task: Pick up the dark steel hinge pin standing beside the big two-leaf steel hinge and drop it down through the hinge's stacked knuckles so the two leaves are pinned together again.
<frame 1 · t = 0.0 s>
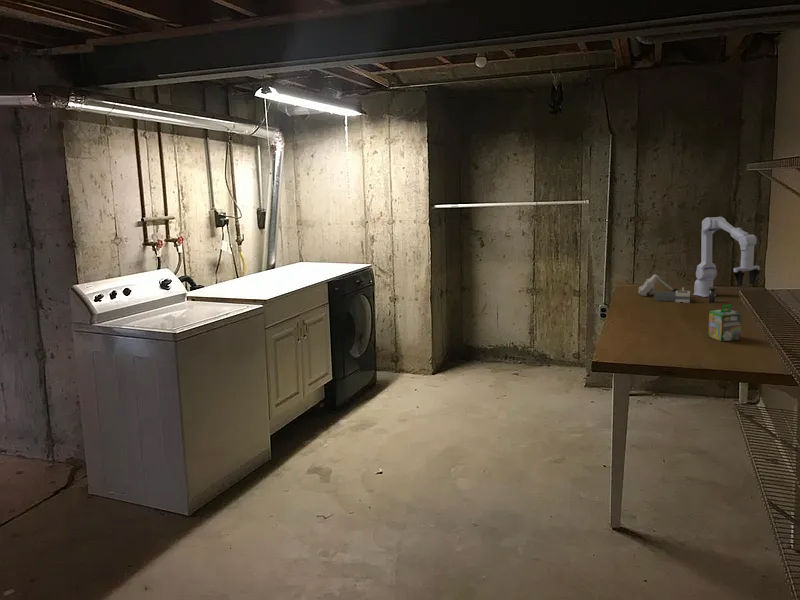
hand: (745, 284, 329), 10 cm above the table, fingers open, 7 cm apart
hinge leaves: (682, 301, 345), on the table
hinge pin: (711, 302, 340), on the table
chalk box: (724, 338, 268), on the table
mechanical valve: (658, 296, 364), on the table
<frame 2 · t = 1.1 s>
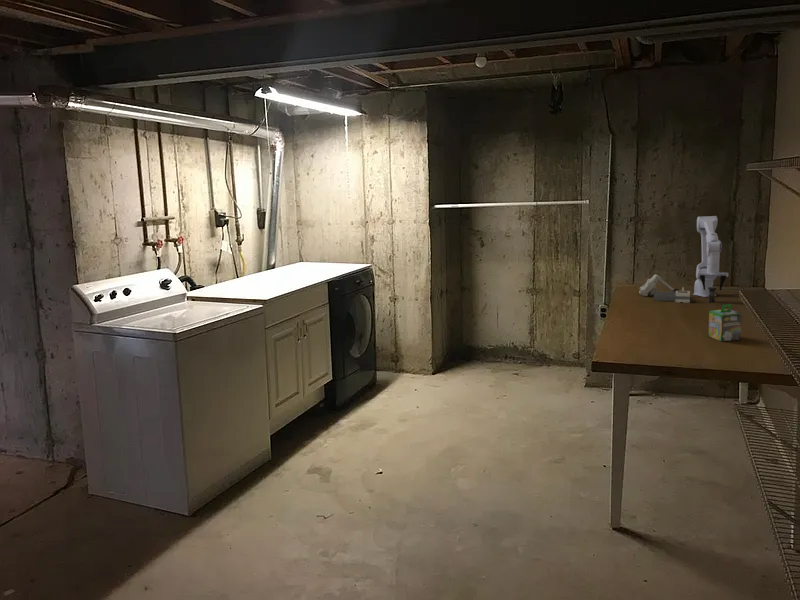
hand: (712, 289, 338), 7 cm above the table, fingers open, 7 cm apart
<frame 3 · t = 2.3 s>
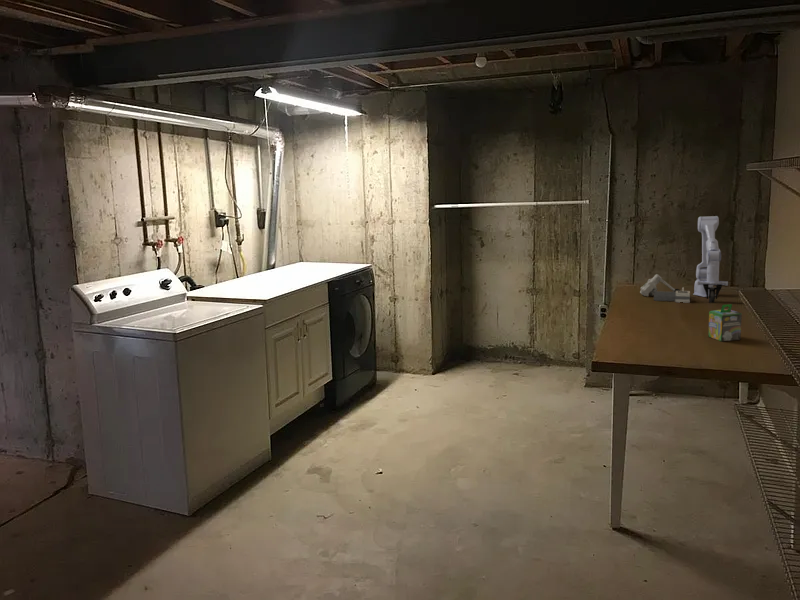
hand: (711, 298, 339), 2 cm above the table, fingers closed on hinge pin, 3 cm apart
hinge pin: (711, 302, 340), on the table, touching gripper
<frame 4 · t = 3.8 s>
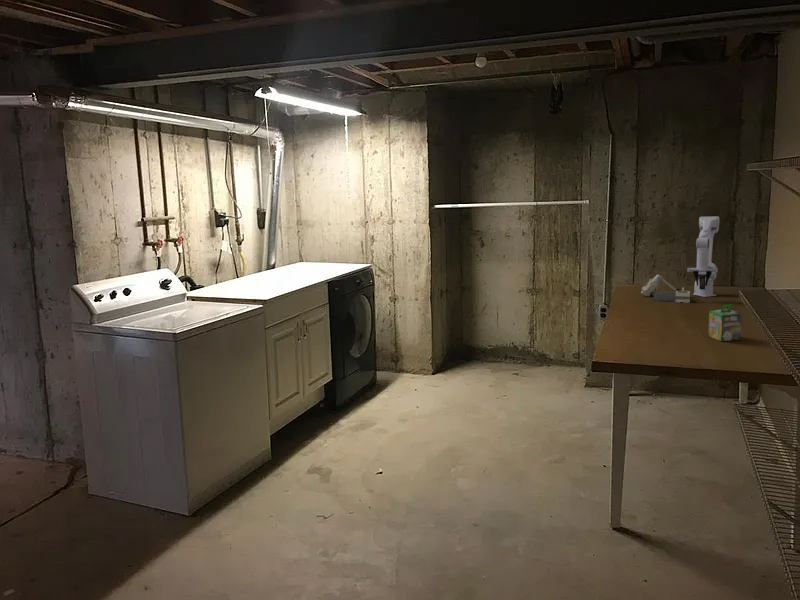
hand: (701, 285, 340), 9 cm above the table, fingers closed on hinge pin, 3 cm apart
hinge pin: (702, 289, 340), point 7 cm above the table, touching gripper
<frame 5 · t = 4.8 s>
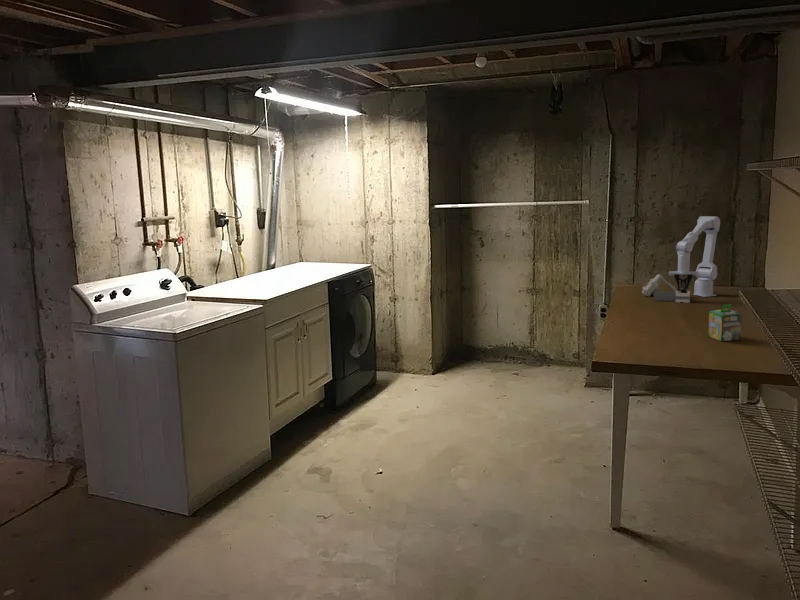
hand: (682, 288, 344), 7 cm above the table, fingers closed on hinge pin, 3 cm apart
hinge pin: (683, 292, 344), point 5 cm above the table, touching gripper
when the fingers open (6 cm above the table, at t = 5.3 s): hinge pin drops 4 cm, resting in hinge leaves.
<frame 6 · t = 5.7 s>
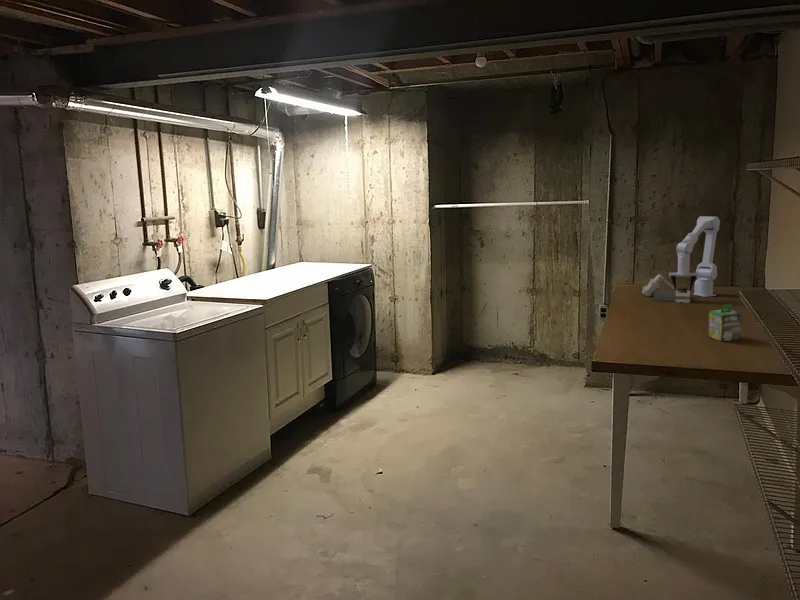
hand: (682, 290, 344), 6 cm above the table, fingers open, 7 cm apart
hinge pin: (683, 301, 345), resting in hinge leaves
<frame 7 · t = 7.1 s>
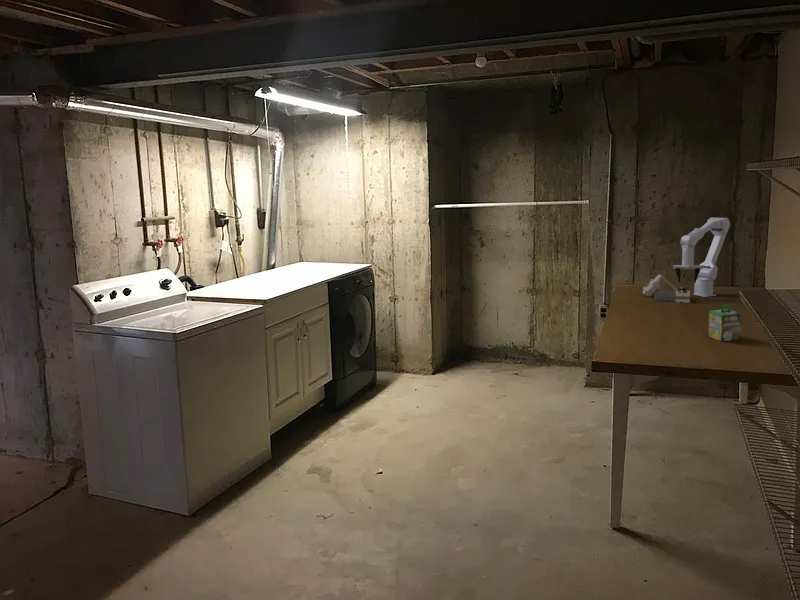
hand: (687, 282, 349), 9 cm above the table, fingers open, 7 cm apart
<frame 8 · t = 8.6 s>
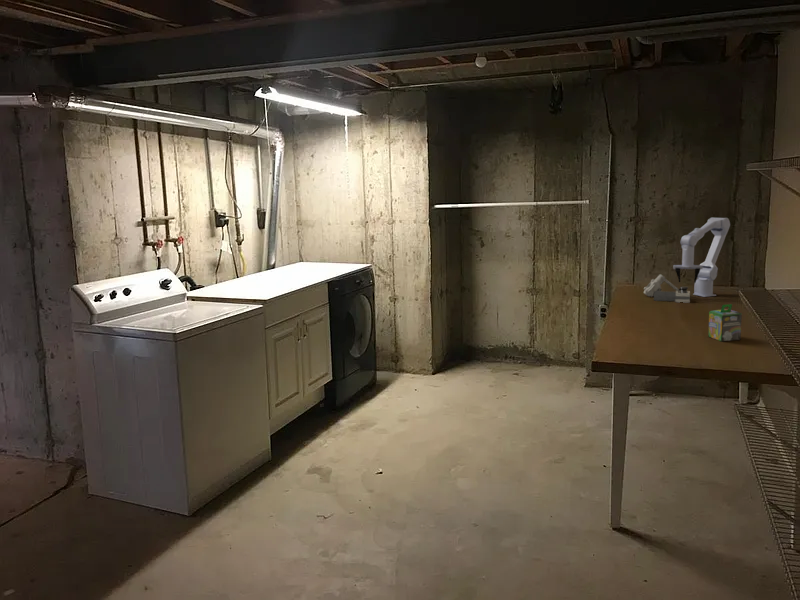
hand: (687, 282, 349), 9 cm above the table, fingers open, 7 cm apart
at the end: hinge pin 0.4 cm off-centre on the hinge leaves, point 0.0 cm above the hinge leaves's base; hinge pin tilted 0°; the gripper is holding nothing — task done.
